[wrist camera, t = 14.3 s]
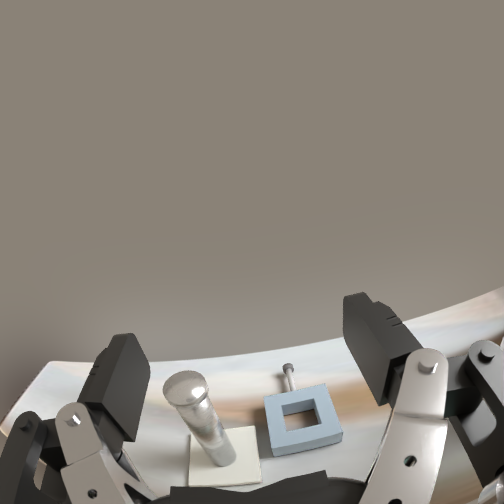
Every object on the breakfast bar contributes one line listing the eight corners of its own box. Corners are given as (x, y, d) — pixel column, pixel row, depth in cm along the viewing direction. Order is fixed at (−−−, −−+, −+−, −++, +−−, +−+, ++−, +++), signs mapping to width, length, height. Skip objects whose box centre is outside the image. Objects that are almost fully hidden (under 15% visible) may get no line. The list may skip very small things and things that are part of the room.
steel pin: (238, 442, 34) (206, 368, 28) (240, 467, 30) (204, 401, 23) (208, 445, 34) (166, 372, 28) (207, 470, 30) (159, 404, 23)
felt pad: (255, 427, 37) (254, 425, 37) (262, 482, 28) (261, 480, 27) (192, 434, 37) (191, 431, 37) (190, 487, 28) (188, 485, 27)
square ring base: (314, 366, 47) (314, 355, 46) (341, 441, 32) (343, 432, 31) (261, 377, 47) (258, 366, 46) (273, 456, 32) (271, 448, 30)
